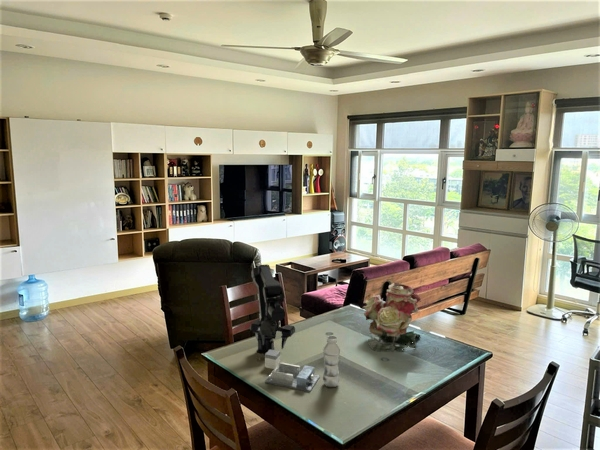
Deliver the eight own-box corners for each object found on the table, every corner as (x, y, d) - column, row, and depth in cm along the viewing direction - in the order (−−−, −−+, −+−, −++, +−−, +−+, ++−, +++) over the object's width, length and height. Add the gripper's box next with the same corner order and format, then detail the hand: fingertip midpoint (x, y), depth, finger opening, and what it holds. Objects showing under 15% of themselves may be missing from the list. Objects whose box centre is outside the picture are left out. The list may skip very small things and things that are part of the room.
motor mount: (265, 382, 175) (265, 372, 174) (277, 368, 186) (277, 358, 185) (310, 392, 169) (310, 381, 168) (319, 377, 180) (319, 366, 179)
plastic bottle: (334, 391, 169) (335, 342, 166) (319, 386, 173) (320, 338, 170) (342, 383, 175) (343, 336, 172) (327, 379, 178) (328, 332, 175)
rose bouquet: (362, 329, 228) (364, 274, 223) (420, 334, 222) (423, 277, 217) (358, 351, 203) (360, 289, 198) (423, 357, 198) (427, 294, 193)
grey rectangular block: (265, 367, 188) (264, 354, 187) (269, 362, 192) (269, 349, 191) (275, 369, 186) (275, 356, 185) (280, 364, 191) (280, 351, 190)
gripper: (244, 315, 181) (244, 351, 184) (285, 322, 174) (285, 359, 177) (255, 306, 191) (256, 340, 194) (295, 312, 185) (295, 347, 187)
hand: (272, 346), depth 188 cm, fingers open, 9 cm apart
